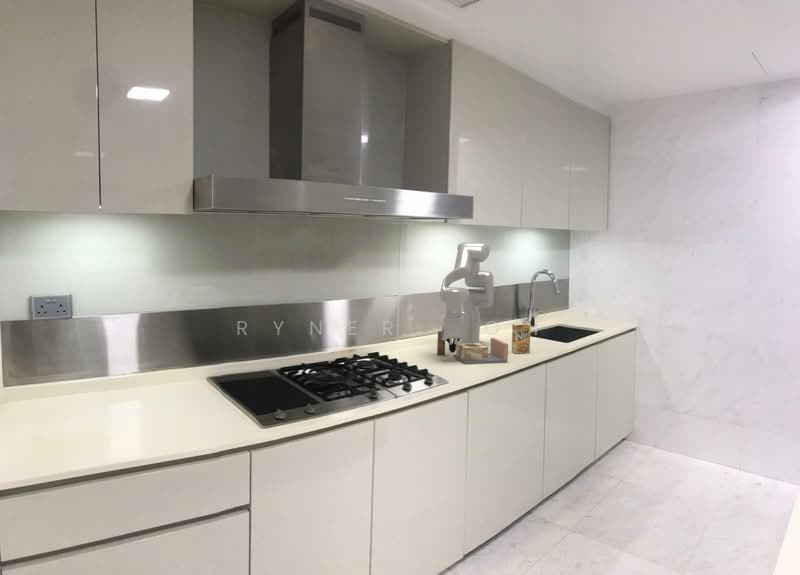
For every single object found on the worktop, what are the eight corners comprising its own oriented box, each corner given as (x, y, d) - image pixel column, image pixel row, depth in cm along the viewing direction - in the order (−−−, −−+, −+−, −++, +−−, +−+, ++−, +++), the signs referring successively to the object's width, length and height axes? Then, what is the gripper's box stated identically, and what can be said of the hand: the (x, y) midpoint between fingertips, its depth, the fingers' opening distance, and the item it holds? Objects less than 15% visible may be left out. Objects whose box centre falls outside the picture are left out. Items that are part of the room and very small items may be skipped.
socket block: (456, 355, 254) (456, 343, 253) (478, 354, 256) (479, 342, 256) (464, 360, 242) (465, 348, 241) (488, 359, 245) (488, 347, 244)
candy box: (515, 353, 265) (516, 325, 264) (511, 352, 269) (512, 323, 268) (529, 353, 268) (531, 324, 266) (525, 351, 272) (526, 323, 270)
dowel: (436, 354, 261) (436, 331, 260) (443, 353, 262) (444, 331, 260) (438, 355, 257) (439, 332, 256) (446, 355, 258) (446, 332, 257)
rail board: (453, 356, 255) (454, 338, 255) (493, 355, 261) (494, 337, 260) (464, 364, 240) (465, 345, 239) (507, 362, 245) (508, 343, 244)
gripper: (465, 313, 249) (464, 349, 251) (436, 313, 246) (435, 350, 247) (470, 315, 242) (469, 353, 243) (441, 316, 238) (440, 354, 240)
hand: (452, 351), depth 245 cm, fingers closed
